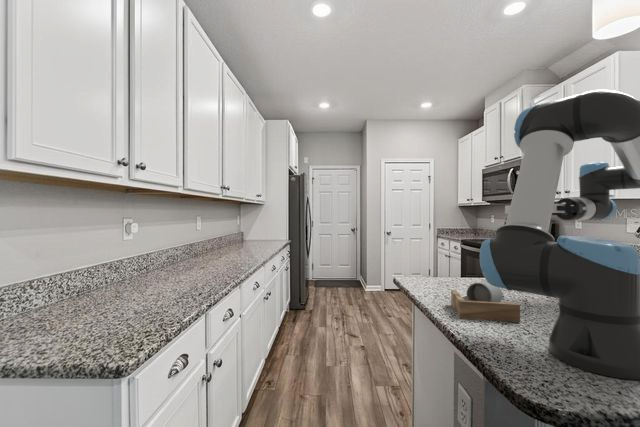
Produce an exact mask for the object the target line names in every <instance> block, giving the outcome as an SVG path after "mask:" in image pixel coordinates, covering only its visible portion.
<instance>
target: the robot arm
mask: <svg viewBox="0 0 640 427" xmlns="http://www.w3.org/2000/svg"><path fill="white" fill-rule="evenodd" d="M513 129H514V134H513V137H514V142H515V144H516V146H517V148H519V149H520V151H521V153H523V155H522V159H521V163H520V168H519V171H518V176H517V179H516V182H515V183H516V184H515V187H514V191H513V193H512V194H513V195H512V198H511V201H510V205H505V207H504V214H506V215H507V217H506V222H505V224H503V225H500V226H499V227H497V229H496V231H495V235H494V238H493V237H489V238H486V239H484V241H482V243H481V246H480V250H479V265H480V269H481V272H482V275H483V277H484V279H485V280H486V282H489V283H490V284H491V285H493V286H495V287H500V289H504V290H506V291H515V292H520V293H521V292H522V293H527V294H533V295H538V296H544V297H549V298H556V299H558V308H559V309H558V315H557V318H556V320H555V322H554V325H553V327H552V330H551V333H550V335H549V337H548V349H549V352H550V354H551V355H553V356H554V357H556V358H557V359H559V360H561V361H562V362H565V363H567V364H569V365H570V366H573V367H576V368H579V369H581V370H584V371H588V372H591V373H594V374H596V375H597V374H599V375H602V376H607V377H612V378H617V379H623V380H631V381H632V380H633V381H634V380H635V381H637V380H638V381H640V253H639V251H638V250H637V249H636V248H635V247H634V246H633V245H630V244H628V243H623V242H620V241H615V240H610V239H603V238H602V239H601V238H596V237H588V236H578V235H577V236H574V235H559V236H558V237H557V239H556V241H555V237H554V236H553V234H551V233H550V232H549V229H550V225H551V224H550V223H551V219H552V216H556V217H557V218H559V219H561V220H563V221H578V222H579V223H582V222H583V221H602V220H608V219H611V218H613V217H614V216H615V215H616V213H617V210H618V207H617V204H616V203H615V201H614V200H612V199H610V191H614V190H616V191H617V190H631V189H632V190H633V189H634V190H635V189H640V100H639V99H638V98H636V97H635V96H632V95H629V94H628V93H623V92H621V91H616V90H612V89H611V90H610V89H596V90H595V89H594V90H590V91H585V92H583V93H579V94H574V95H572V96H567V97H563V98H560V99H556V100H552V101H547V102H544V103H538V104H536V105H534V106H531V107H527V108H526V109H524V110H522V111H521V112H520V113H519V115H518V116H517V118H516V120H515V123H514V128H513ZM597 138H600V139H603V140H604V141H605V142H607V143H610V145H611V146H612V148H613V151H614V152H615V153H616V156H617V157H618V159H619V160H620V162H621V164H622V165H619V166H610V165H609V162H607V161H606V162H605V161H599V162H598V161H597V162H589V163H584V164H582V165H580V168H579V177H578V183H579V197H563V198H561V199H559V200H557V202H555V199H556V195H557V190H558V184H559V181H560V177H561V176H560V175H561V171H562V166H563V161H564V157H565V156H566V155H568V154H570V152H571V151H572V150H573V149H574V146H575V145H574V144H575V142H580V141H586V140H590V139H591V140H592V139H597ZM603 140H602V141H603Z"/></svg>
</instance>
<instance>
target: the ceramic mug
mask: <svg viewBox="0 0 640 427" xmlns="http://www.w3.org/2000/svg"><path fill="white" fill-rule="evenodd" d="M465 294H466V295H465V296H463V297H462V296H461V297H462V298H463V299H464V300H467V301H486V302H502V301H503V295H504V294H503V291H502V288H500V287H495V286H493V285H491V284H490V283H489V282H488V281H478V282H474V283H471V284H469V286H468V287H467V289H466V293H465Z"/></svg>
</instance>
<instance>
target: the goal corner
mask: <svg viewBox="0 0 640 427" xmlns="http://www.w3.org/2000/svg"><path fill="white" fill-rule="evenodd" d="M450 298H451V299H450V304H451V306H452V308H453V309H454V310H455V312H456V314H457V316H459V319H468V320H469V319H471V320H482V321H483V320H485V321H498V322H499V321H500V322H512V321H513V322H514V323H515V322H516V323H521V304H520V303H518V302H502V301H501V302H486V301H467V300H464V299H463V298H462V295H461V294H460V293H459V292H458V291H457V290H455V289H453V290H451V291H450Z"/></svg>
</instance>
